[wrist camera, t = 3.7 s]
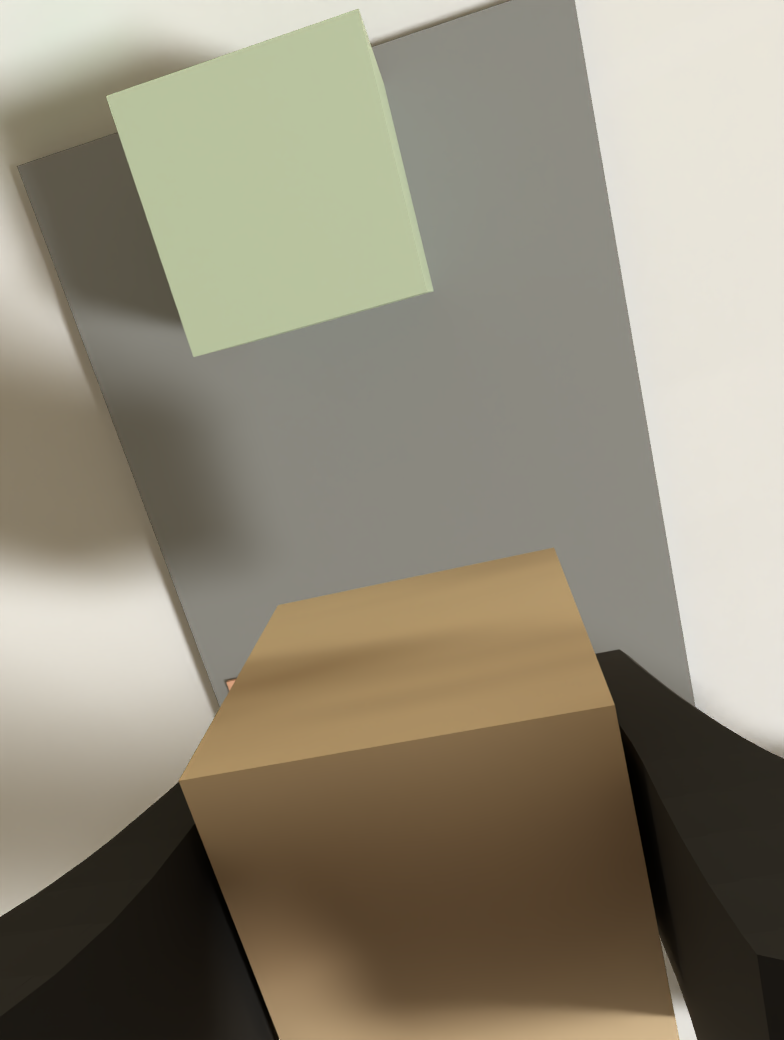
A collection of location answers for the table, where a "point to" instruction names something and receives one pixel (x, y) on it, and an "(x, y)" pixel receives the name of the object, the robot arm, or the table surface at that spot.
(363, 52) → the sage block
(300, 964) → the maple block
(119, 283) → the mat
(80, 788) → the table surface
